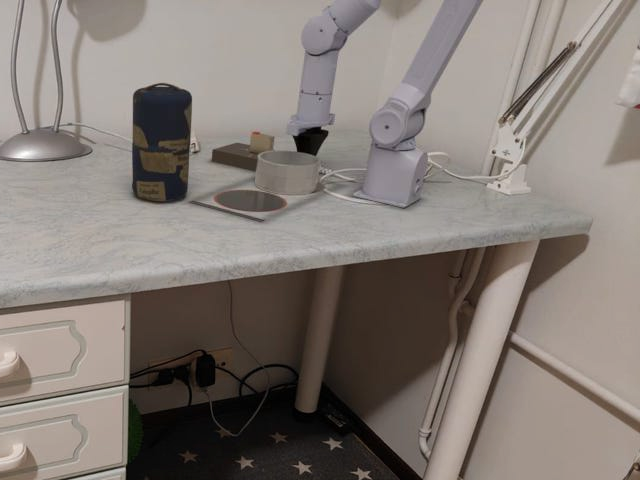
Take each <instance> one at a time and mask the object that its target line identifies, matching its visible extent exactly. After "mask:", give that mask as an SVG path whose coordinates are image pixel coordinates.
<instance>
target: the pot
mask: <svg viewBox="0 0 640 480" xmlns="http://www.w3.org/2000/svg"><path fill="white" fill-rule="evenodd" d="M320 169H321V159H320V157H318V156H313V155H310V154H307V153H302V152H297V151H294V150H281V149H280V150H279V149H278V150H276V151H266V152H262V153H260V154H259V155H258V156H257V165H256V172H255V173H254V174H255V175H254V186H255V187H256V188H258V189H259V190H261V191H263V192H267V193H271V194H275V195H283V196H284V195H287V196H302V195H310V194H309V193H312V192H314V191H315V190H316V186H317V182H318V181H319V174H320ZM312 194H313V193H312Z"/></svg>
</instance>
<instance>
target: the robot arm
mask: <svg viewBox="0 0 640 480" xmlns="http://www.w3.org/2000/svg"><path fill="white" fill-rule="evenodd" d="M483 2H484V0H443V1H442V4H441V6H440V8H439V9H438V12H437V13H436V15H435V17H434V19H433V21H432V23H431V24H430V27H429V28H428V31H427V33H426V34H425V36H424V38H423V40H422V42H421V43H420V46H419V48H418V49H417V50H416V51H417V52H416V53H415V55H414V57H413V60H411V63H410V64H409V67H408V69H407V71H406V73H405V74H404V76H403V78H402V80H401V82H400V83H399V85H398V86H397V87H396V88H395V89H394V90H393V91H392V92H391V94H390V95H389V96H388V97H387V100H386V101H385V103H384V105H383V106H381V108H379V109H378V110H376V111H375V113H374V114H373V115H372V116H371V118H370V120H369V124H368V132H369V136H370V138H371V141H370V142H371V143H370V148H369V153H368V159H367V163H366V169H365V174H364V179H363V184H362V188H361V189H359V190H356V191H355V192H353V193H352V196H353V197H355V198H360V199H364V200H369V201H373V202H376V203H381V204H386V205H389V206H394V207H399V208H402V209H403V208H407V207H408V206H410V205H411V204H413V203H415V202H417V201H418V200H420V199H422V196H421V193H422V188H423V185H424V181H425V177H426V171H427V169H428V168H427V167H428V161H429V154H428V152H426V151H425V150H424V151H423V150H419V149H418V148H416V146H417V141H416V137H417V136H418V135H419V134H421V132H422V130H424V127H425V124H426V115H427V111H428V109H429V107H430V105H431V103H432V93H433V91H434V90H435V88H436V86H437V84H438V82H439V81H440V79H441V77H442V75H443V74H444V71H445V70H446V68H447V67H448V65H449V63H450V61H451V59H452V58H453V56H454V54H455V52H456V51H457V48H458V47H459V45H460V43H461V41H462V40H463V38H464V36H465V34H466V32H468V31H467V30H468V28H469V27H470V25H471V23H472V22H473V20H474V18H475V16H476V14H477V13H478V11H479V9H480V7H481V5H482V4H483ZM381 4H382V0H334V1H333V2H332V3H331V4H330V5H326V6H325V7H323V8H322V14H321V15H313V16H312V17H310V18H308V20H307V22H306V23H305V24H304V26H303V28H302V30H301V36H300V40H301V41H300V42H301V46H302V48H303V49H304V57H303V64H302V71H301V78H300V85H299V94H298V101H297V109H296V110H297V111H296V113H295V114H291V115H290V122H287V124H286V131H285V135H288V136H292V139H293V141H294V144H295V147H296V152H302V153H307V154H310V155H313V156H316V157H318V154H319V151H320V149H321V147H322V145H323V143H324V142H325V140H327V138H328V136H329V132H330V131H329V130H327V129H323V127H326V126H333V125H335V120H336V119H335V118H336V113H331V106H332V98H333V91H334V87H335V86H334V85H335V80H336V73H337V66H338V59H339V53H340V51H341V50H342V49H343V48H344V47H345V45H346V43H347V42H348V38H349V36H351V34H353V33H354V32H355V31H356V30H357V29H359V27H360V26H362V25H363V24H364V23H365V22H366V21H367V20H369V18H370V17H372V16H373V15H374V14H375V13H376V12H377V11H378V10H379V9H380V8H381Z"/></svg>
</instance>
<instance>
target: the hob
mask: <svg viewBox="0 0 640 480" xmlns="http://www.w3.org/2000/svg"><path fill="white" fill-rule="evenodd" d="M324 190H326V185H325V184H324V183H322V182H321V181H319V180H318V182H317V186H316V190H315V191H314V192H312V193H309V194H308V195H311V194H318V193H321V192H322V191H324ZM213 201H214V202H215V203H216V204H218V205H219V206H222V207H224V208H220V207H217V206H214V205H211V204H208V203H207V204H206V203H203V202H199V201H195V200H191V201H188V203H189V204H193V205H197V206H200V207H204V208H208V209H211V210H215V211H218V212H223V213H225V214H229V215H233V216H237V217H239V218H244V219H248V220H252V221H254V222H259V223H263V222H264V221H266V220H265V219H261V218H259V217H256V216H255V217H254V216H251V215H248V214H243V213H240V212H245V213H247V212H248V213H269V212H277V211H280V210H283V209H285V208H286V207H287V206H288V201H287V199H285V198H283V197H282V196H279V195H278V194H276V193H271V192H267V191H263V190H254V189H229V190H225V191H221V192H218V193H216V194H215V195H214V196H213ZM225 208H227V209H225ZM230 209H231V210H230ZM232 210H233V211H232ZM236 211H239V212H236Z"/></svg>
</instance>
